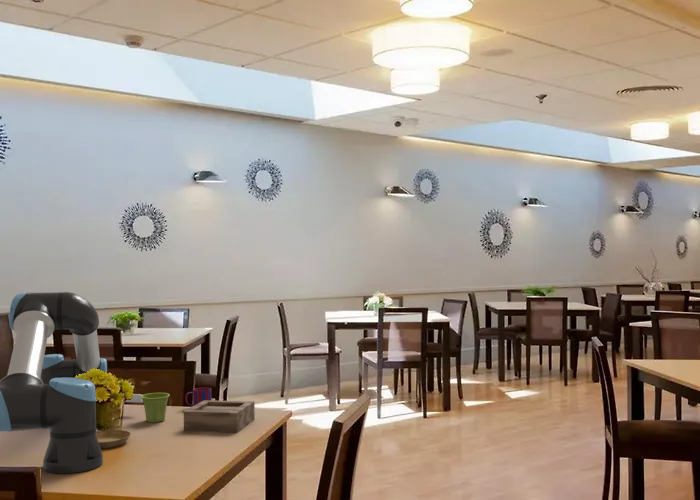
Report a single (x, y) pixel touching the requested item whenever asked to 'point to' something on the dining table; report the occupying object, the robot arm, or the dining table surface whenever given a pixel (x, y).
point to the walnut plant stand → (219, 416)
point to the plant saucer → (112, 438)
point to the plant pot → (155, 406)
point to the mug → (199, 395)
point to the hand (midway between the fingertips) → (132, 402)
